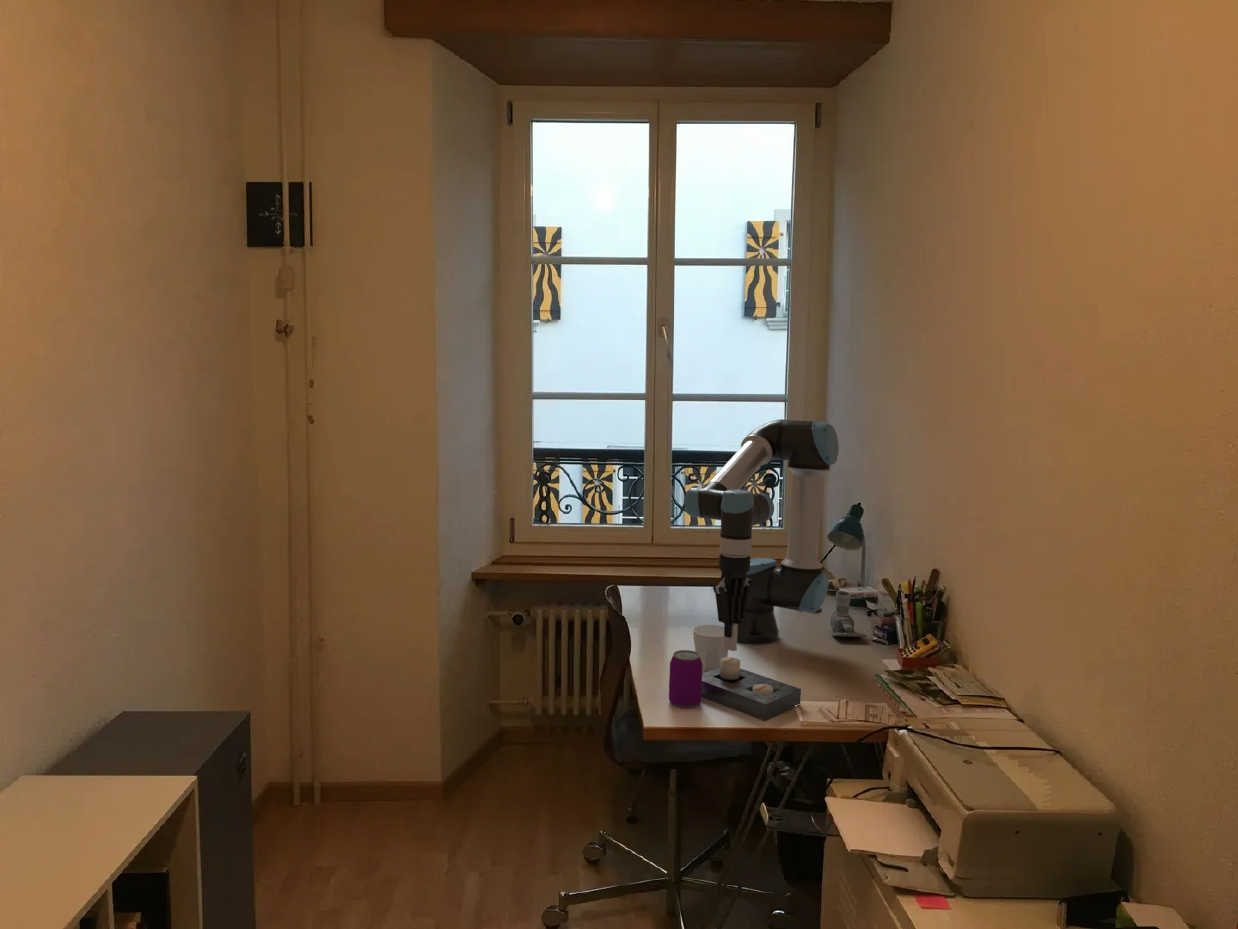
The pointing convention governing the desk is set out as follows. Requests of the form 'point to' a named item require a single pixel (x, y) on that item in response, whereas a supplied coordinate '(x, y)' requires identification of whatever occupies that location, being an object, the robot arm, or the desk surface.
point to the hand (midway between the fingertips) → (730, 649)
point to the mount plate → (749, 694)
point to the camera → (843, 617)
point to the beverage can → (685, 679)
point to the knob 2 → (763, 689)
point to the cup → (710, 645)
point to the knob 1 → (729, 668)
